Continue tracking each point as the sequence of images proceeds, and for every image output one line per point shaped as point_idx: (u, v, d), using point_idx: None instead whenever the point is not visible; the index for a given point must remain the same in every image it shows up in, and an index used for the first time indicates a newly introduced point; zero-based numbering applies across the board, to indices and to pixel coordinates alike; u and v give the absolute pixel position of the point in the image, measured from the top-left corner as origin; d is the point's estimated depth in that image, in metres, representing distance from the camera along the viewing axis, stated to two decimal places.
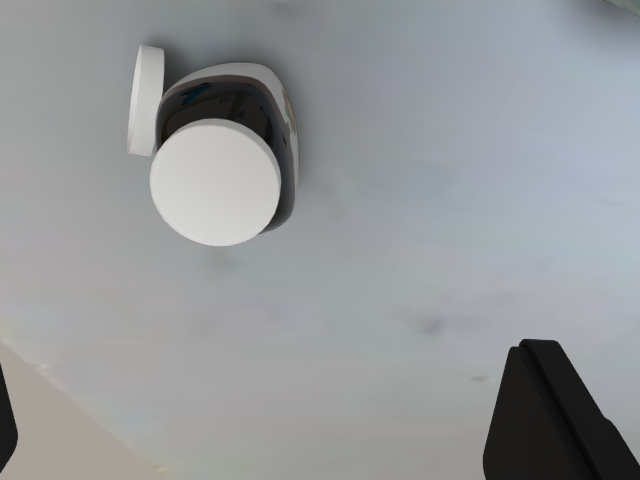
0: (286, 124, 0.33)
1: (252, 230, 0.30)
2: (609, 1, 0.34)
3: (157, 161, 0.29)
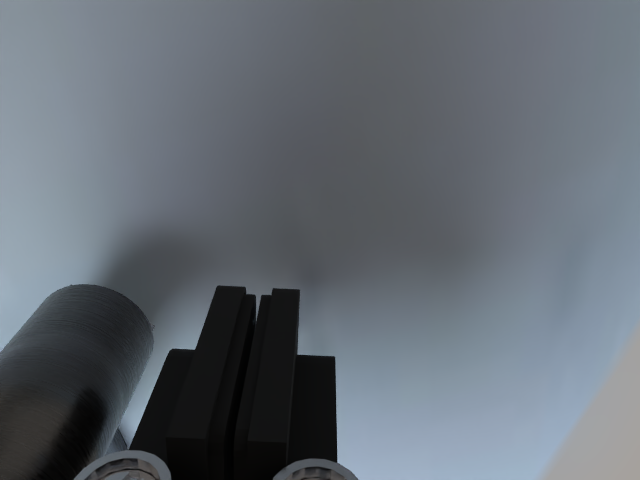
0: None
1: None
2: None
3: None
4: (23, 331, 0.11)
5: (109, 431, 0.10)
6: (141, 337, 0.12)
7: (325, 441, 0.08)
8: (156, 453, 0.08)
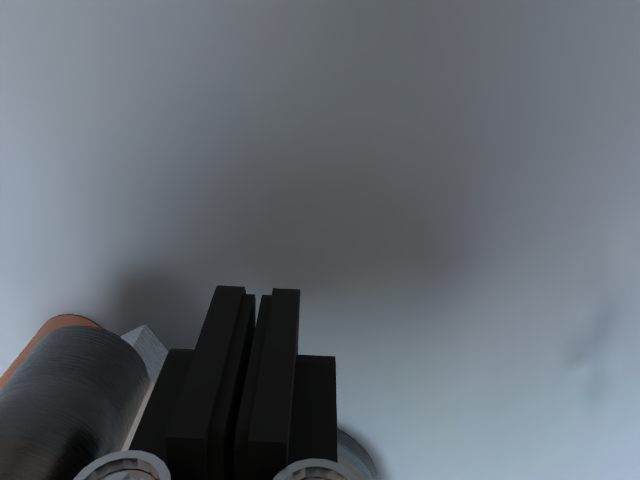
0: None
1: None
2: None
3: None
4: None
5: (57, 428, 0.09)
6: (85, 342, 0.11)
7: (326, 442, 0.08)
8: (156, 453, 0.08)
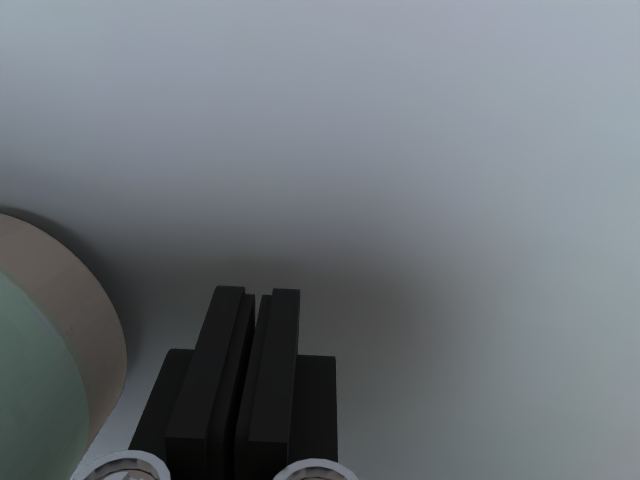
0: None
1: None
2: None
3: None
4: None
5: None
6: None
7: (326, 441, 0.08)
8: (155, 452, 0.08)
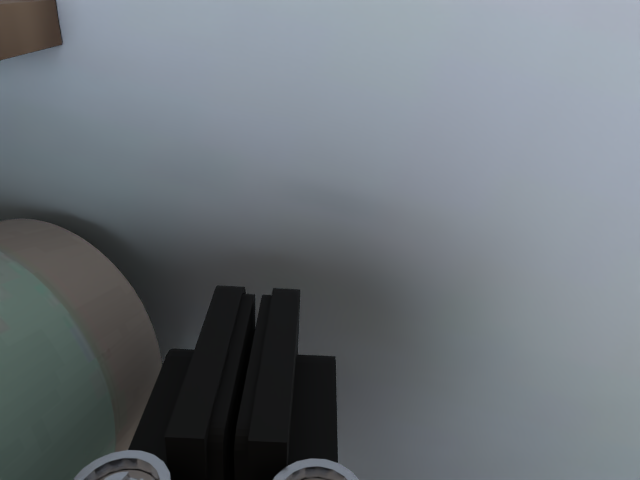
0: None
1: None
2: (35, 274, 0.10)
3: None
4: None
5: None
6: None
7: (326, 441, 0.08)
8: (155, 453, 0.08)
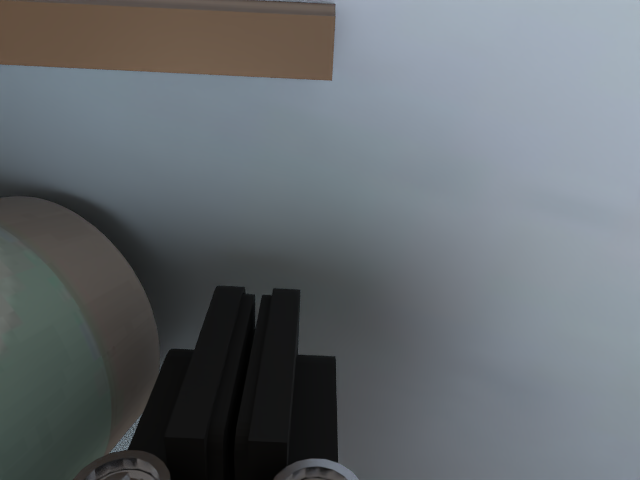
0: None
1: None
2: (49, 264, 0.10)
3: None
4: None
5: None
6: None
7: (326, 441, 0.08)
8: (155, 452, 0.08)
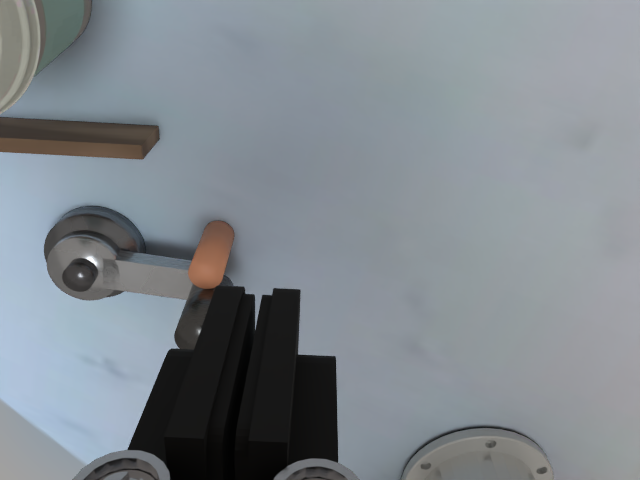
0: None
1: None
2: None
3: None
4: None
5: None
6: None
7: (326, 441, 0.08)
8: (155, 453, 0.08)
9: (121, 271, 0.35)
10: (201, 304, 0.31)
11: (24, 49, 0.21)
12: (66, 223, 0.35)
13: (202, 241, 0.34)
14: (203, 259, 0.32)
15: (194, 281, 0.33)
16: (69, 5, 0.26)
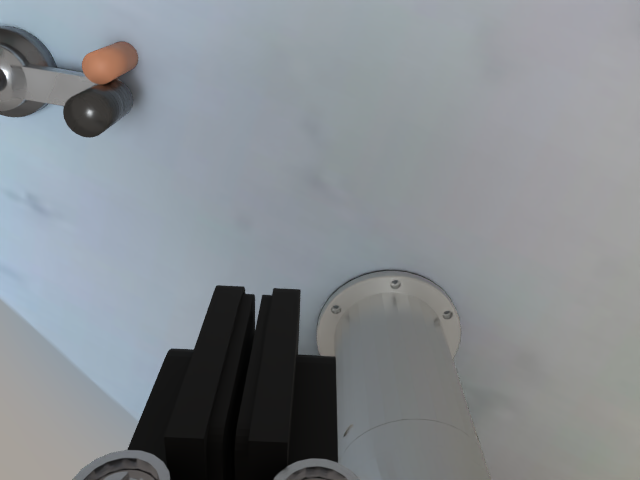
0: None
1: None
2: None
3: None
4: (116, 87, 0.36)
5: None
6: (124, 115, 0.38)
7: (326, 441, 0.08)
8: (155, 452, 0.08)
9: (28, 79, 0.38)
10: (90, 89, 0.34)
11: None
12: None
13: None
14: (94, 52, 0.35)
15: (88, 76, 0.36)
16: None
